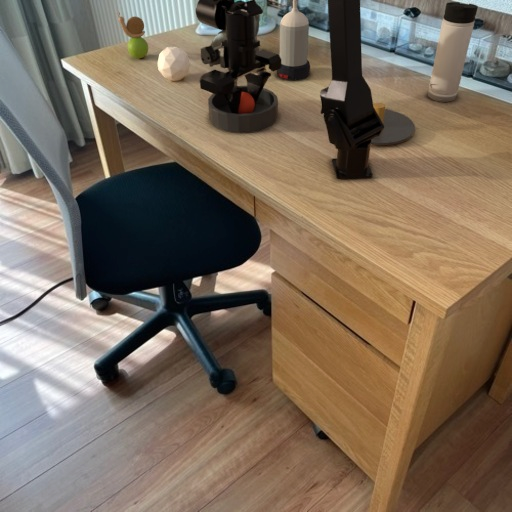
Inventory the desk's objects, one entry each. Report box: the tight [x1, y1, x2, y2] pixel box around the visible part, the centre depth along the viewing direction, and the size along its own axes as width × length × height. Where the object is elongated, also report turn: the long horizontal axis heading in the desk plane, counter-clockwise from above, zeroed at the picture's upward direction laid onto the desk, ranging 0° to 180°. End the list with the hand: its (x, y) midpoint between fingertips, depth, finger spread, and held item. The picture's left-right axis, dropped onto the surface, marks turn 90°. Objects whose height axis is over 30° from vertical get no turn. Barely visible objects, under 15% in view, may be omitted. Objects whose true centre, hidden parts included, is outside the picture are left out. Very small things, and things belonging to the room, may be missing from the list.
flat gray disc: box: [371, 101, 416, 146], centre depth 107 cm, size 15×15×5 cm
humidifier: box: [276, 0, 311, 82], centre depth 123 cm, size 8×8×25 cm
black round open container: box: [207, 85, 279, 134], centre depth 112 cm, size 15×15×4 cm
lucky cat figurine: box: [209, 14, 261, 52], centre depth 137 cm, size 15×12×14 cm
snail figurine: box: [116, 11, 149, 59], centre depth 137 cm, size 5×6×12 cm
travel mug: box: [427, 1, 479, 103], centre depth 113 cm, size 6×7×20 cm
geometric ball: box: [156, 46, 191, 82], centre depth 127 cm, size 8×8×8 cm
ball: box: [238, 92, 255, 114], centre depth 112 cm, size 5×5×5 cm
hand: (243, 110), depth 113 cm, fingers closed on ball, 5 cm apart
